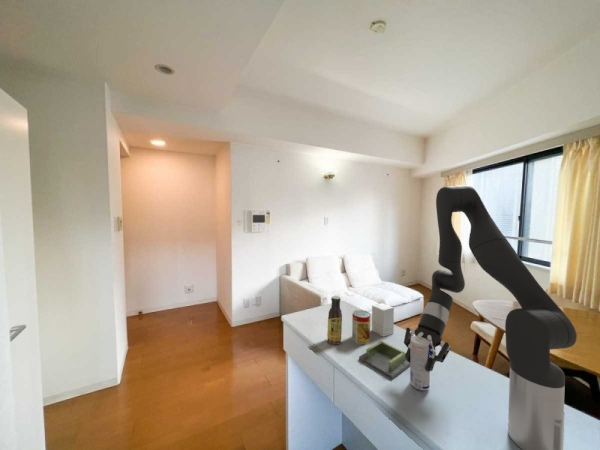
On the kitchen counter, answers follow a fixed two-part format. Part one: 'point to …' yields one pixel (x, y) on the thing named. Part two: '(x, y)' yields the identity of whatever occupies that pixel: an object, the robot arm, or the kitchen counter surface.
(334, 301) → the sauce bottle
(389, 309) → the supplement box
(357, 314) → the canned food
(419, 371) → the beverage can
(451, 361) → the kitchen counter surface
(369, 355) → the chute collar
